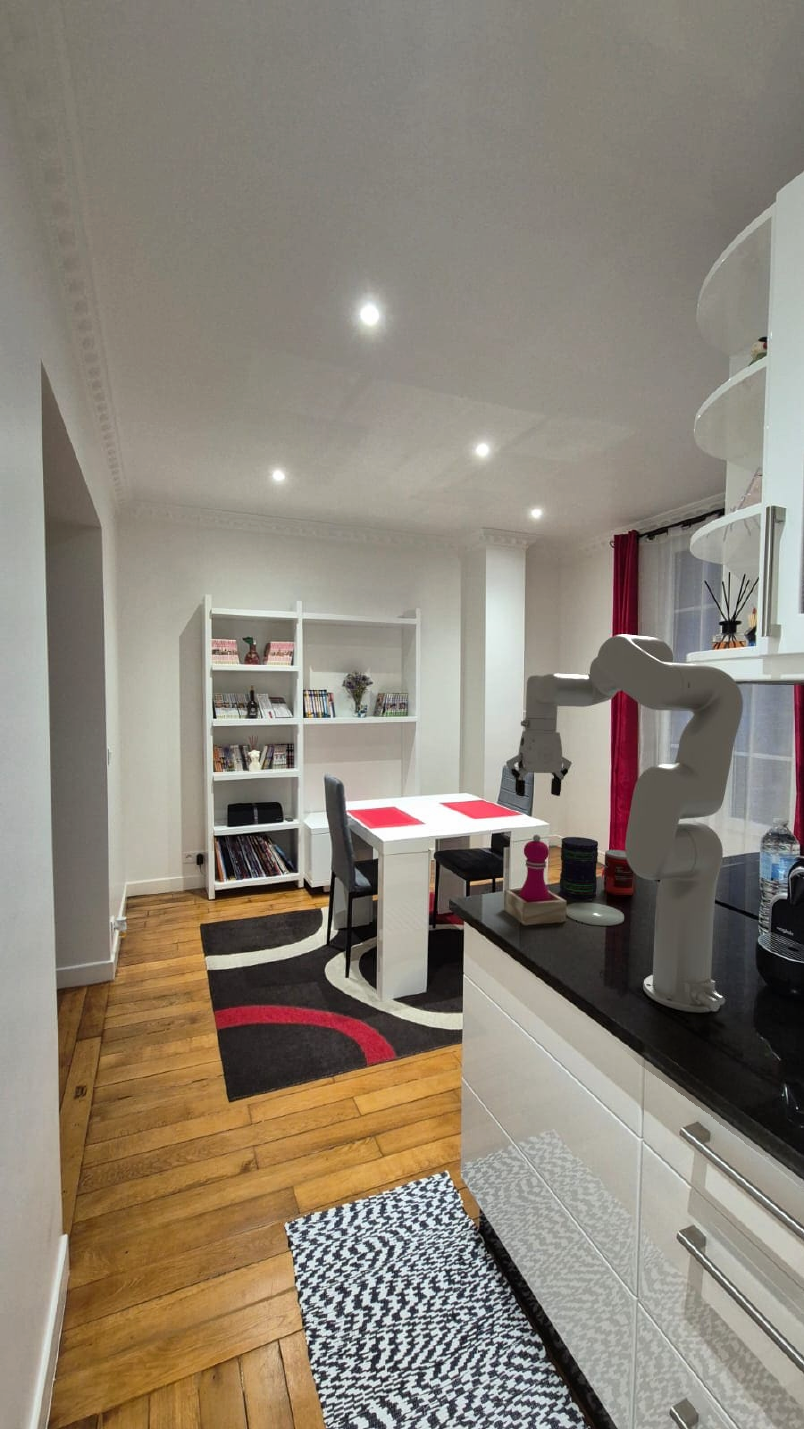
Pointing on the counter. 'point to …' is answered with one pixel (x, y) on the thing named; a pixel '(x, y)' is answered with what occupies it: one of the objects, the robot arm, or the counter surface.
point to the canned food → (617, 873)
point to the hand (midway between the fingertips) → (538, 795)
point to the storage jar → (578, 868)
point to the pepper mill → (535, 871)
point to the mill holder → (534, 908)
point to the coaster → (594, 914)
